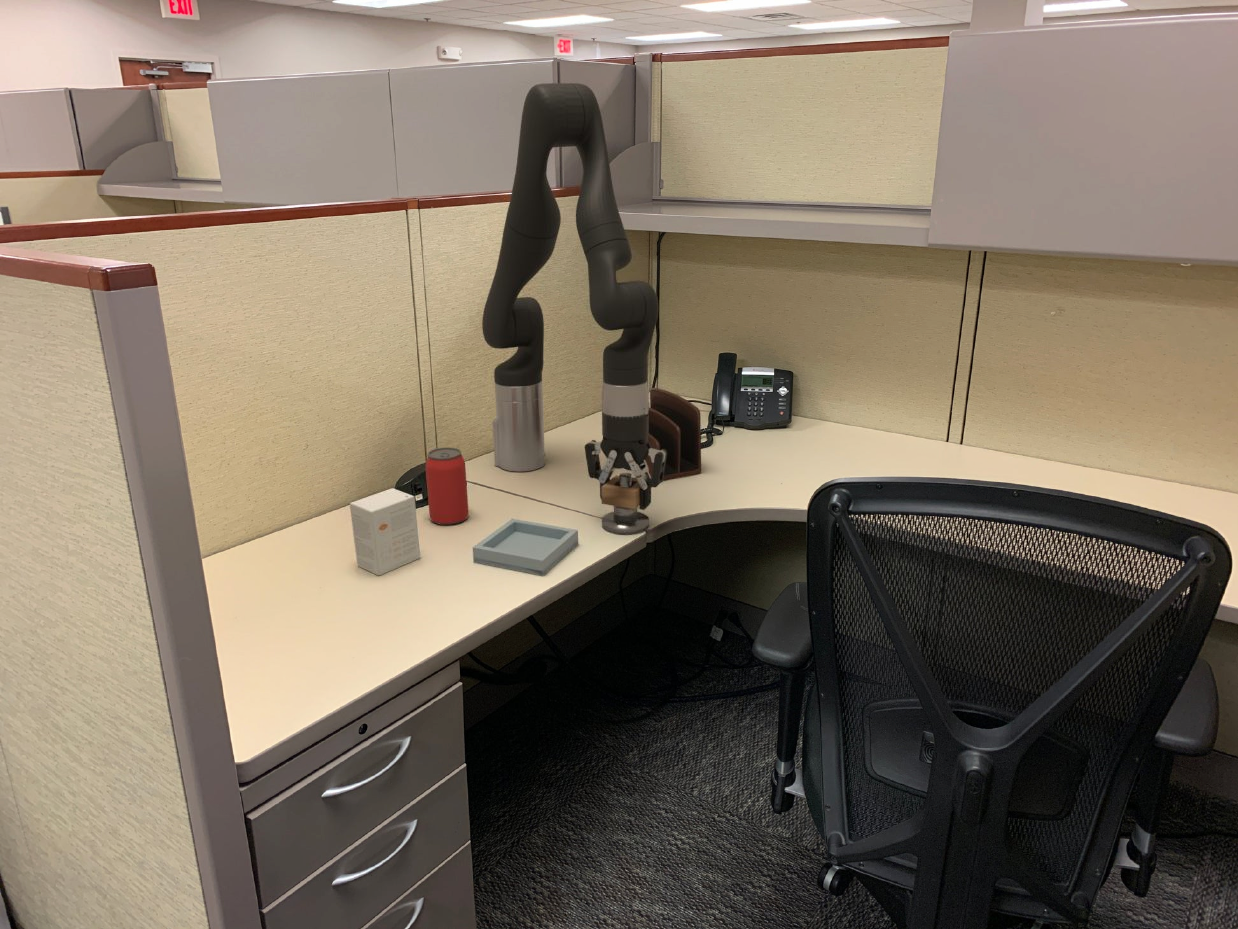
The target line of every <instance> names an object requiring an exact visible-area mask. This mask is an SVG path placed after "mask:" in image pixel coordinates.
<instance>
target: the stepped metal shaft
mask: <svg viewBox="0 0 1238 929" xmlns="http://www.w3.org/2000/svg"><path fill="white" fill-rule="evenodd" d="M618 476H619V486H621V487H628V488H631V477H632V474H631V473H630V472H621V473H619V474H618ZM601 528H602V529H603V530H604V531H606V532H608V533H610V534H614V535H622V536H629V535H631V536H632V535H637V534H641V533H643V532H645V531H647V530H648V529H649V528H650V517H649V516H648V515H647V514H645V513H643V512H640V511H638V507H637V508H636V509H631V508H624V507H618V506H613V511H611V512H608V513H606V514H605V515H603V516H602V517H601Z"/></svg>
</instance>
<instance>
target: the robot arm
mask: <svg viewBox="0 0 1238 929" xmlns="http://www.w3.org/2000/svg"><path fill="white" fill-rule="evenodd" d="M602 118H603V117H602V113H601V108H600V106H599V103H598V100H597V97H596V95H595V93H594V91H593V89H591V88H590V87H589V86H588V85H586V84H584V83H579V82H578V83H577V82H576V83H575V82H573V83H572V82H569V83H567V82H563V83H561V82H559V83H558V82H557V83H556V82H553V83H539V84H535V85H532V87H531V88H530V89H529V90H528V92H527V93H526V96H525V99H524V103H523V107H522V114H521V121H520V130H519V138H518V149H517V159H516V167H515V175H514V179H513V184H512V190H511V195H510V198H509V199H510V200H509V204H508V207H507V208H508V209H507V212H506V217H505V222H504V226H503V230H502V237H501V243H500V251H499V255H498V260H497V264H496V268H495V272H494V276H493V279H492V281H491V282H492V283H491V285H490V288H489V292H488V295H487V298H486V300H485V301H486V302H485V305H484V309H483V314H482V318H481V319H482V320H481V327H482V329H481V330H482V334H483V338H484V341H485V342H486V344H487V345H488V346H489V347H491V348H494V349H497V350H498V349H501V350H502V349H512V348H513V349H514V348H517V350H516V351H515V353H514V354H513V355H512V356H511V357H510V358H508V359H507V360H505V361H504V362H501V363H499V364H498V365H497V366H496V367H495V368H494V372H493V376H494V378H493V380H494V394H495V395H494V396H495V397H494V398H495V414H496V418H494V419H493V420H492V435H493V436H492V438H493V440H492V441H493V455H494V458H493V459H494V466H496V467H499V468H501V469H503V470H505V471H509V472H529V471H534V470H538V469H541V468H543V467H544V466H545V465H546V452H545V426H544V425H545V424H544V423H545V422H544V396H543V394H544V393H543V369H544V363H545V362H544V349H545V348H544V341H545V340H544V336H545V323H544V322H545V321H544V313H543V310H542V307H541V304H540V303H539V301H538V300H537V299H536V298H534V297H531V296H522V297H519V294H520V293H521V291H522V290H523V288H524V287H526V285H527V284H528V283H529V282H530V281H531V280H532V279H533V278H534V277H535V276H536V275H537V274H538V273H539V272H540V271H541V270H542V269H543V267H544V266H545V265H546V264H547V262H548V261H549V260H550V259H551V257H552V255H553V252H554V250H555V247H556V243H557V239H558V236H559V232H560V227H561V222H562V220H561V219H562V218H561V217H562V216H561V212H560V211H561V210H560V207H559V204H558V201H557V199H556V196H555V195H554V192H553V190H552V188H551V186H550V183H549V180H548V176H547V170H548V162H549V156H550V153H551V151H552V149H553V148H566V147H568V148H569V147H575V148H576V149H577V151H578V154H579V157H580V160H581V163H582V179H581V180H582V181H581V186H580V191H579V195H578V198H577V204H576V206H575V207H576V208H575V226H576V230H577V235H578V238H579V240H580V244H581V247H582V249H583V250H582V251H583V253H584V256H585V257H584V258H585V259H586V262H587V272H588V273H587V274H588V292H589V293H588V294H589V307H590V308H589V309H590V312H591V315H592V317H593V319H594V321H595V322H596V323H597V325H598V326H599V327H600V328H602V329H603V330H605V331H619V330H622V333H621V336H620V337H619V338H618V339H617V340H616V341H614V342H612V343H610V344H607V346H605V348H604V350H603V352H602V390H601V431H602V432H601V433H602V434H601V435H602V439H601V441H597V440H595V439H592V440H590V441H589V442H587V443H586V444H585V445H584V453H585V458H586V465H587V466H586V467H587V472H588V477H589V478H590V479H595V480H597V481H598V482H599V497H600V500H601V501H602V493H601V487H602V486H603V485H604V484H606V483H607V482H608V481H609V480H611V479H612V478H611V477H612V476H613V474H614V472H615V470H617V469H619V470H621V469H624V470H626V471H631V472H632V475H633V477H634V478H637V480H638V482H639V484H640V486H641V489H640V505H639V506H638V508H639V510H641V511H645V510H646V509H647V508H648V507H649V506H650V505H651V503H652V488H655V489H656V488H658V486H659V485H660V484H662V483H663V476H664V470H665V464H666V457H667V451H666V450H665V449H662V450H656V449H653V448H651V447H650V445H649V442H648V435H649V407H650V392H649V387H648V355H649V350H650V348H651V344H652V340H653V336H654V333H655V329H656V324H657V321H658V317H659V310H660V309H659V299H658V295H657V292H656V291H655V289H654V288H653V286H652V285H651V284H650V283H649V282H647V281H645V280H629V281H625V282H623V281H622V282H618V280H617V271H620V270H622V269H624V268H625V267H627V266H628V265H629V264H630V263H631V261H632V256H633V255H632V254H633V253H632V250H631V245H630V243H629V239H628V237H627V232H626V231H625V227H624V224H623V222H622V218H621V215H620V212H619V208H618V205H617V200H616V197H615V191H614V186H613V179H612V172H611V166H610V159H609V154H608V153H609V152H608V148H607V141H606V136H605V129H604V123H603V119H602ZM601 451H602V453H603V454H604V456H605V457H606V460H605V463H604V465H603V467H602V465H601V459H600V453H601ZM648 455H649V456H650V457H651V461H652V463H654V465H653V472H652V478H651V476H650V474H649V471H648V470H649V468H648V466H647V463H646V461H645V459H646V457H647V456H648ZM601 467H602V468H601Z"/></svg>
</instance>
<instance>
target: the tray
mask: <svg viewBox="0 0 1238 929" xmlns="http://www.w3.org/2000/svg"><path fill="white" fill-rule="evenodd" d="M577 546H579V530H578V529H575V528H567V527H563V526H562V527H561V526H557V525H556V526H555V525H551V524H545V523H541V522H540V523H539V522H534V521H528V520H523V519H522V520H521V519H517V518H510V520H508V521H507V522H505V523H504V524H503V525H501V526H500V527H499V528H497V529H495V531H493V532H492V533H490V534H489V535H488V536H486V537H485V538H483V539H482V540H481V541H479V542H478V543H477V544H475V545H474V546H472V557H473V558H472V560H473V563H476V564H481V565H485V566H486V565H487V566H491V567H496V568H501V569H506V570H510V571H516V572H521V573H527V574H531V575H536V576H541V577H543V576H545V575H546V574H547V573H548V572H549V571H550V570H551V569H553V568H554V567H555V566H556V565H557V564H558V563H559V562H560V561H561V560H563V559H564V558H565V557H566V556H567V555H568V554H569V553H570V552H571V551H573V549H575V548H576V547H577Z"/></svg>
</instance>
